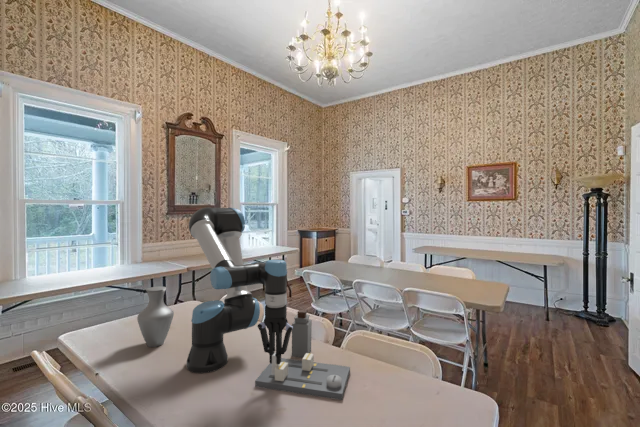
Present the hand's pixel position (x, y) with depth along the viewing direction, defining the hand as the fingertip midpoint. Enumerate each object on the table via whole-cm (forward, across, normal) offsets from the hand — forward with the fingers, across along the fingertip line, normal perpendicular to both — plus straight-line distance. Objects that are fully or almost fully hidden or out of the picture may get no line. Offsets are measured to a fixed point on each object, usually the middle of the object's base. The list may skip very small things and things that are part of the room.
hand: (275, 372), depth 107 cm
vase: (+3, -64, +16) cm, 66 cm away
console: (+4, +9, +5) cm, 11 cm away
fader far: (+1, +9, +9) cm, 13 cm away
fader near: (+1, +2, 0) cm, 3 cm away
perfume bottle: (+4, +2, +24) cm, 25 cm away
